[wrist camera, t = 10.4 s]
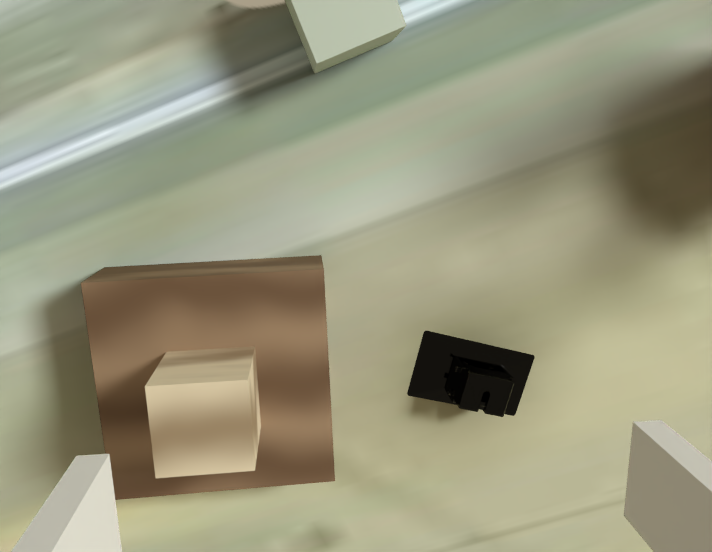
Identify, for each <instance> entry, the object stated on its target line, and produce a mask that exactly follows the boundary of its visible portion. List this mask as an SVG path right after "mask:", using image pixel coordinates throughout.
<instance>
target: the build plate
mask: <svg viewBox="0 0 712 552" xmlns="http://www.w3.org/2000/svg"><path fill="white" fill-rule="evenodd" d="M533 360H534V355H530V354H526V353H521V352H517V351H513V350H508V349H504V348H500V347H495V346H491V345H487V344H482V343H478V342H473V341H469V340H465V339H460V338H456V337H452V336H447V335H443V334H439V333H434V332H430V331H425V332H424V334H423V337H422V341H421V345H420V348H419V352H418V356H417V360H416V363H415V367H414V371H413V374H412V378H411V382H410V385H409V389H408V393H407V394H408V395H409V396H413V397H419V398H424V399H429V400H434V401H439V402H445V403H450V404H455V405H458V407H459V408H460V409H465V410H470V411H475V412H478V410H479V409H481V410H483V411H484V413H485V414H490V415H495V416H500V417H503V416H504V414H507V415H512V416H514V415H515V414H516V411H517V408H518V405H519V402H520V399H521V396H522V393H523V390H524V387H525V384H526V381H527V378H528V375H529V372H530V369H531V366H532V363H533Z"/></svg>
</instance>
